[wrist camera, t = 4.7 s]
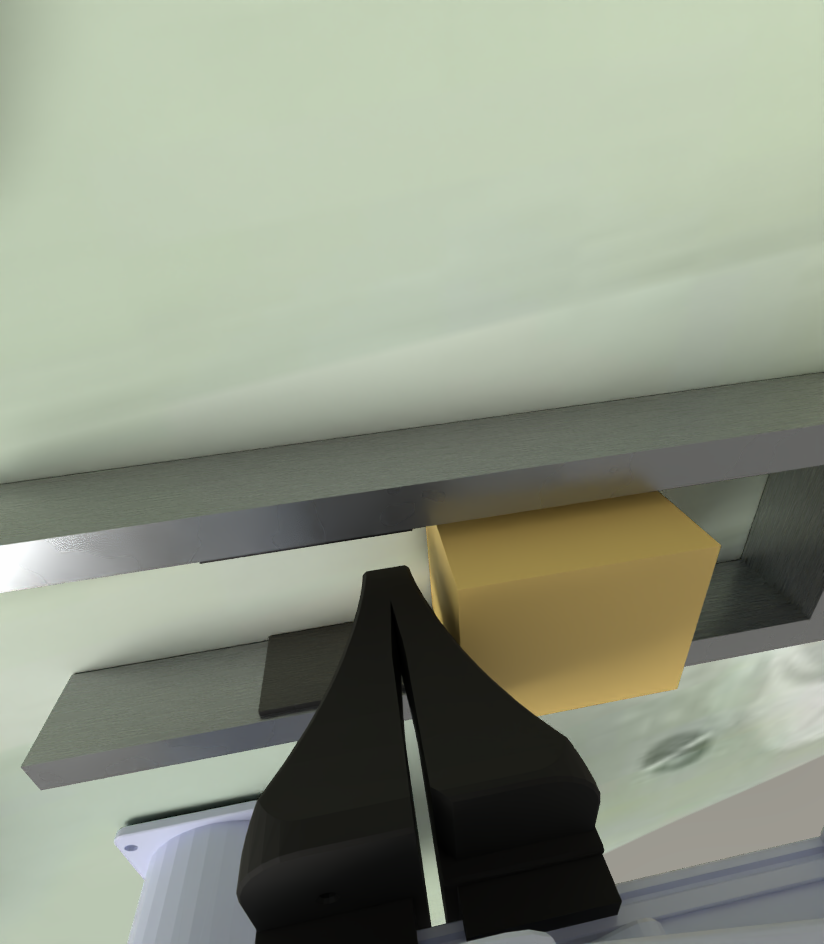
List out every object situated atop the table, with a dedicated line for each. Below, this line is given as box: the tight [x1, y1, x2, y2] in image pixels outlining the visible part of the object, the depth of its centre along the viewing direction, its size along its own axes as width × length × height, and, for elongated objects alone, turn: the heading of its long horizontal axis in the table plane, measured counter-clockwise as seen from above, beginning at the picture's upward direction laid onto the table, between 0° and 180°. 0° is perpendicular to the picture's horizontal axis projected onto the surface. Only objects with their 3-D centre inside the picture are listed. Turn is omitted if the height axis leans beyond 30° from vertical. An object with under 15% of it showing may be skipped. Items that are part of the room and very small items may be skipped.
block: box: [426, 491, 721, 716], centre depth 13 cm, size 5×6×4 cm
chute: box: [0, 372, 824, 790], centre depth 14 cm, size 8×25×3 cm, turn 95°
